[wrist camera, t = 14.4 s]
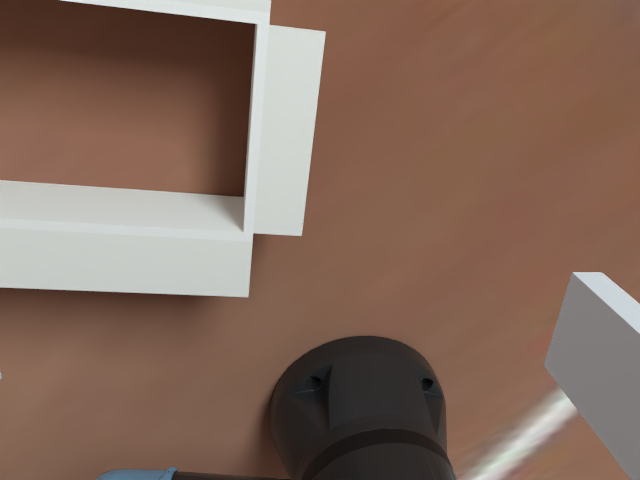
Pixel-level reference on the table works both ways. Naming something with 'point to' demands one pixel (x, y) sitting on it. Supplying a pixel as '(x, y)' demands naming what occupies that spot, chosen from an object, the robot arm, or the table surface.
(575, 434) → the table surface
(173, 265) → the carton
